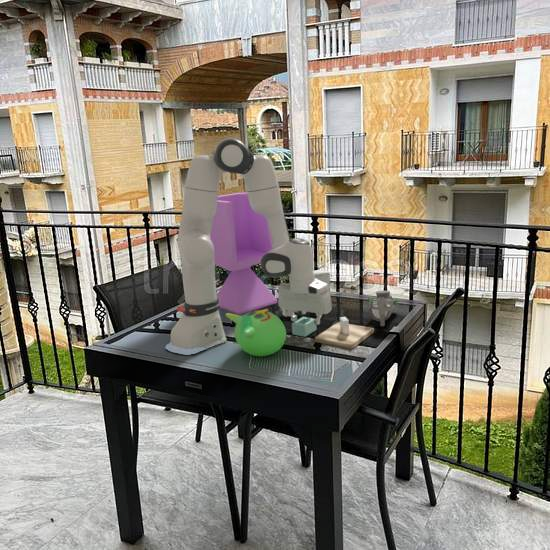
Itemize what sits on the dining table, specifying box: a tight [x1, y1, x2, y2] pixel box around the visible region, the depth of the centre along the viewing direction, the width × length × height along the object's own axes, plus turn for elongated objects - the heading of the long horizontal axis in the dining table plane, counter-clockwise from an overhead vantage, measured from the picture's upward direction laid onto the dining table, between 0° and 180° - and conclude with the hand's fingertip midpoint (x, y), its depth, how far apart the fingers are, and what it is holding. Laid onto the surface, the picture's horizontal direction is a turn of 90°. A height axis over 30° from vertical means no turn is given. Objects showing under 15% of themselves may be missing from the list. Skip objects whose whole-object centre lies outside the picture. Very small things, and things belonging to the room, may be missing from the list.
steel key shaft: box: [339, 316, 350, 335], centre depth 181 cm, size 4×2×5 cm, turn 9°
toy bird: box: [224, 308, 287, 357], centre depth 172 cm, size 18×17×15 cm
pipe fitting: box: [368, 290, 399, 322], centre depth 198 cm, size 12×8×10 cm, turn 144°
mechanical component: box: [367, 297, 398, 327], centre depth 189 cm, size 3×10×10 cm, turn 59°
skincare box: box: [313, 269, 331, 295], centre depth 212 cm, size 8×6×15 cm
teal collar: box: [291, 317, 318, 337], centre depth 189 cm, size 7×5×4 cm
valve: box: [281, 308, 311, 320], centre depth 204 cm, size 7×7×12 cm
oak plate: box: [314, 321, 375, 350], centre depth 182 cm, size 16×14×2 cm
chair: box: [210, 191, 278, 316], centre depth 219 cm, size 22×22×45 cm
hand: (305, 322), depth 189 cm, fingers open, 8 cm apart
